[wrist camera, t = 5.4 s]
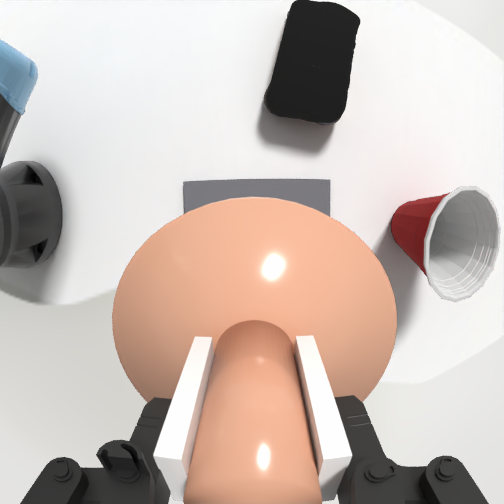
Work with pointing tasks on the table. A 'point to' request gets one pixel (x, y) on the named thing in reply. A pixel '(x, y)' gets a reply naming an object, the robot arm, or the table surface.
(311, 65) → the black sponge
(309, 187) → the mat
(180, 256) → the lid
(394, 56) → the table surface
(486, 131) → the table surface
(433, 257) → the plastic cup
